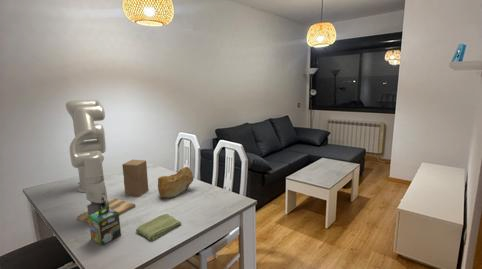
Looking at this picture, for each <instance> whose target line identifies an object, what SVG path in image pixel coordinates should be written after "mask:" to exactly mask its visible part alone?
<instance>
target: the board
mask: <svg viewBox="0 0 482 269" xmlns="http://www.w3.org/2000/svg"><path fill="white" fill-rule="evenodd" d="M108 202H109V208H110V209H112V210H115V211H117V212H119V216H120V215H122V214H124V213H126V212H128V211H130V210H132V209H134V208H136V204H135V203H132V202H129V201H125V200H122V199H118V198H114V199H111V200H108ZM76 216H77V217H76V218H77V220H79V221H82V222H85V223H87V224H89V220H88V210H87V211H86V212H85V211H84V212H83V213H80V214H79V215H76Z"/></svg>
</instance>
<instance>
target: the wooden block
mask: <svg viewBox="0 0 482 269" xmlns="http://www.w3.org/2000/svg"><path fill="white" fill-rule="evenodd" d="M122 174H123V175H122V176H123V183H124V184H123V185H124V194H125V196H130V197H131V196H133V197H141V196H142V195H143V194H145V193H146V192H148V191H149V179H148V167H147V160H145V159H131V160H128V161H126V162H125V163H122Z"/></svg>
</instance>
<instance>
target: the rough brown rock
mask: <svg viewBox="0 0 482 269" xmlns="http://www.w3.org/2000/svg"><path fill="white" fill-rule="evenodd" d="M193 182H194V175H193V171H192V170H191V168H189V166H185V167H182V168H181V169H180V170H179V171H178V172H177V173H175V174H171V175H168V176H167V175H161V176H159V177H157V190H158V193H159V197H160V198H164V199H165V198H166V199H169V198H174V197H176V196H178V195H180V194H182V193H183V192H186V191H187V190H188V189H189V187H190V185H191V184H192V183H193Z"/></svg>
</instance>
